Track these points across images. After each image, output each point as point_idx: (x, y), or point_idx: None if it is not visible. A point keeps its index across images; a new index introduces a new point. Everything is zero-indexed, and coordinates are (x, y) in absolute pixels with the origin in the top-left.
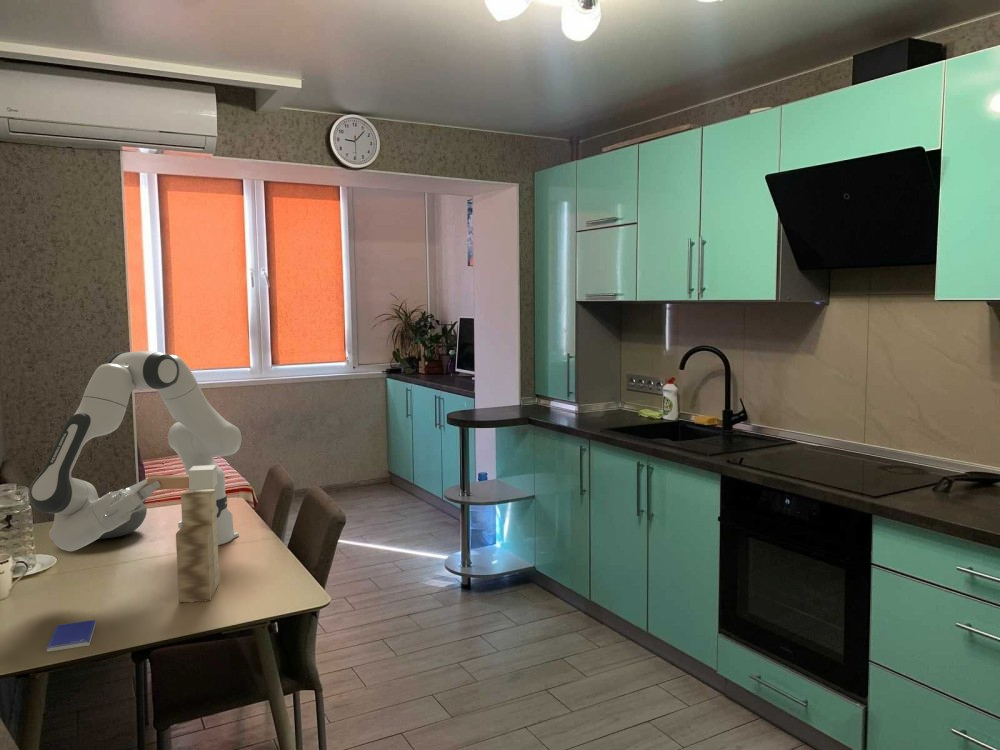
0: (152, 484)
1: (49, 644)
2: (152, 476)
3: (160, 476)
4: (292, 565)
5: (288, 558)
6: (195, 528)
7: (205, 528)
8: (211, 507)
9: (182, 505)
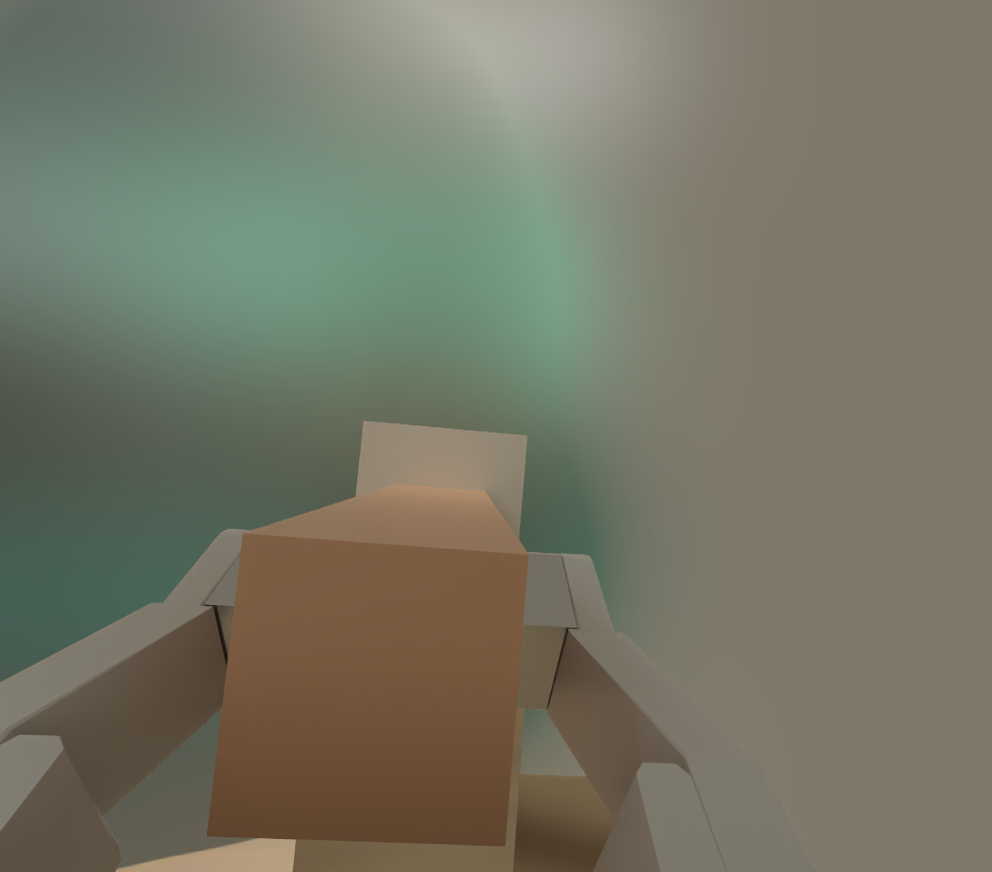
0: (606, 623)
1: None
2: (302, 526)
3: (370, 511)
4: (253, 846)
5: (151, 863)
6: (580, 843)
7: (576, 793)
8: None
9: (518, 746)
